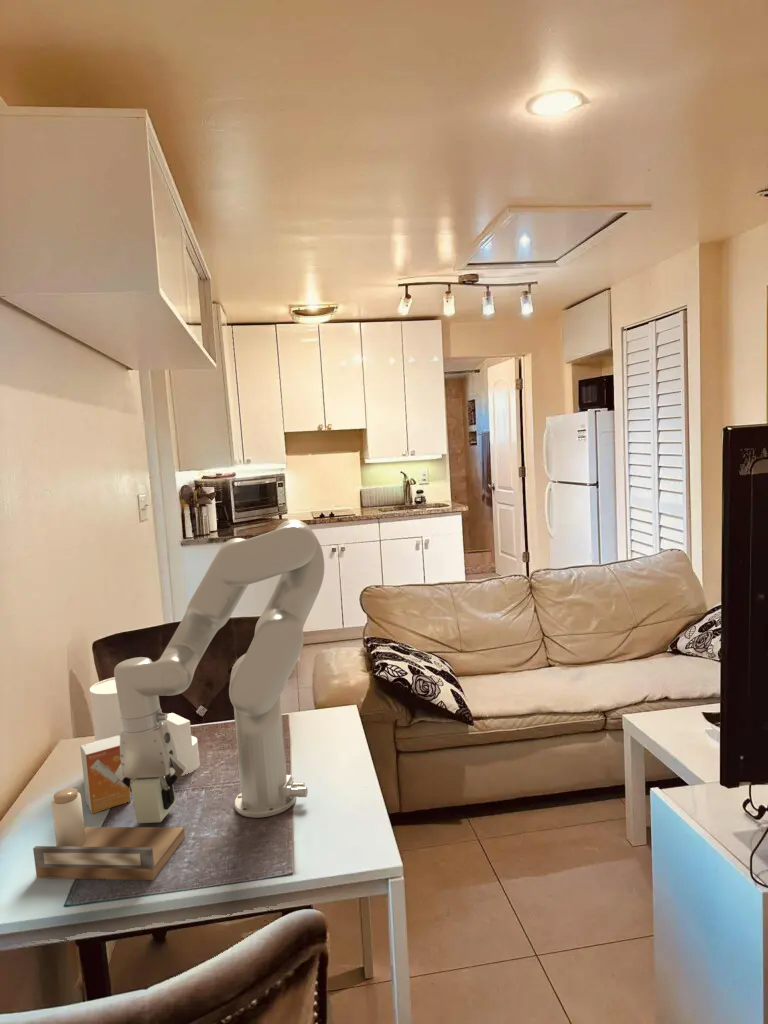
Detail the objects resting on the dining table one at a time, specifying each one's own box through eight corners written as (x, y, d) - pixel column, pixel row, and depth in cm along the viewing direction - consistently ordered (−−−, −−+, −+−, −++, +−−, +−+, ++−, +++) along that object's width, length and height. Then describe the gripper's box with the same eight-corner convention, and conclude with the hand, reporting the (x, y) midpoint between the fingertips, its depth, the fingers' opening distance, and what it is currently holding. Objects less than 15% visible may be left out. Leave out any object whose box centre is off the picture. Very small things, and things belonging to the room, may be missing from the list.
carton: (175, 803, 142) (170, 766, 141) (160, 822, 135) (154, 783, 134) (152, 804, 143) (146, 767, 142) (136, 823, 136) (130, 784, 135)
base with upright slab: (153, 769, 162) (148, 720, 161) (188, 755, 168) (183, 708, 167) (171, 780, 156) (166, 729, 155) (206, 766, 162) (202, 716, 161)
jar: (91, 837, 130) (85, 786, 129) (76, 852, 125) (70, 800, 124) (66, 836, 131) (61, 786, 130) (50, 852, 126) (44, 800, 125)
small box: (91, 815, 143) (84, 754, 141) (86, 803, 148) (79, 744, 147) (131, 801, 147) (125, 743, 146) (125, 790, 152) (118, 734, 151)
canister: (85, 774, 162) (76, 692, 160) (124, 750, 174) (116, 673, 173) (133, 779, 157) (124, 695, 156) (169, 754, 170) (161, 675, 168)
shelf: (184, 837, 131) (182, 810, 131) (153, 880, 118) (149, 850, 118) (78, 836, 134) (75, 809, 134) (35, 878, 121) (32, 849, 121)
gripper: (190, 710, 139) (202, 795, 141) (112, 715, 142) (125, 798, 144) (174, 725, 132) (187, 815, 134) (92, 730, 134) (106, 818, 136)
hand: (155, 805), depth 139 cm, fingers closed on carton, 5 cm apart
